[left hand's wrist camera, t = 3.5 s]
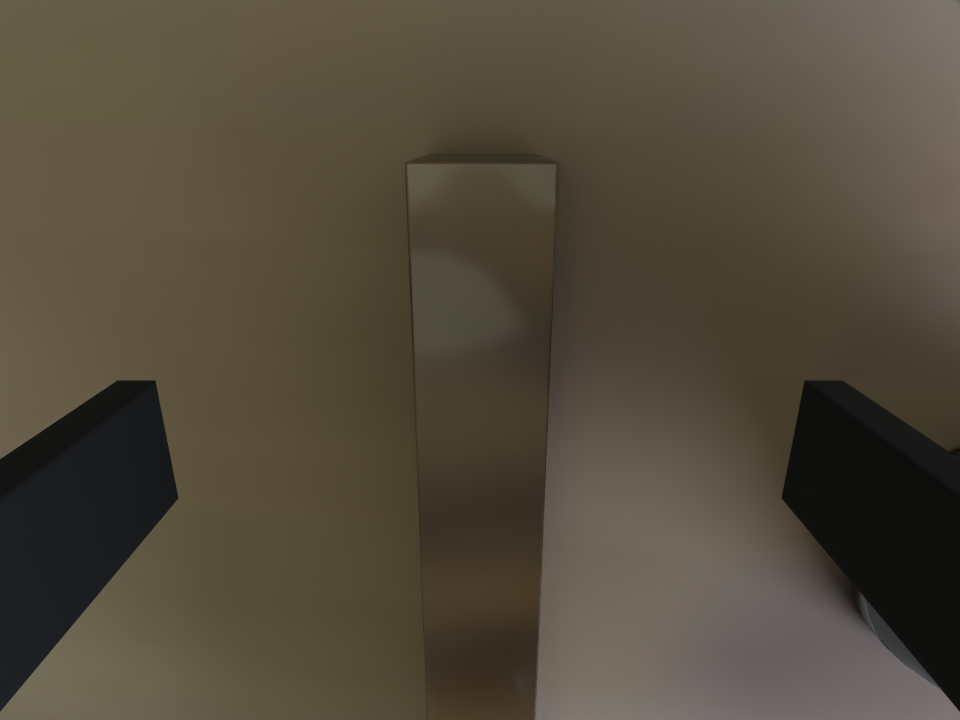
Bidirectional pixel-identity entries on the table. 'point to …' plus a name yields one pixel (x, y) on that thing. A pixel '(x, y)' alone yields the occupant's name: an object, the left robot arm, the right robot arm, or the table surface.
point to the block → (481, 421)
